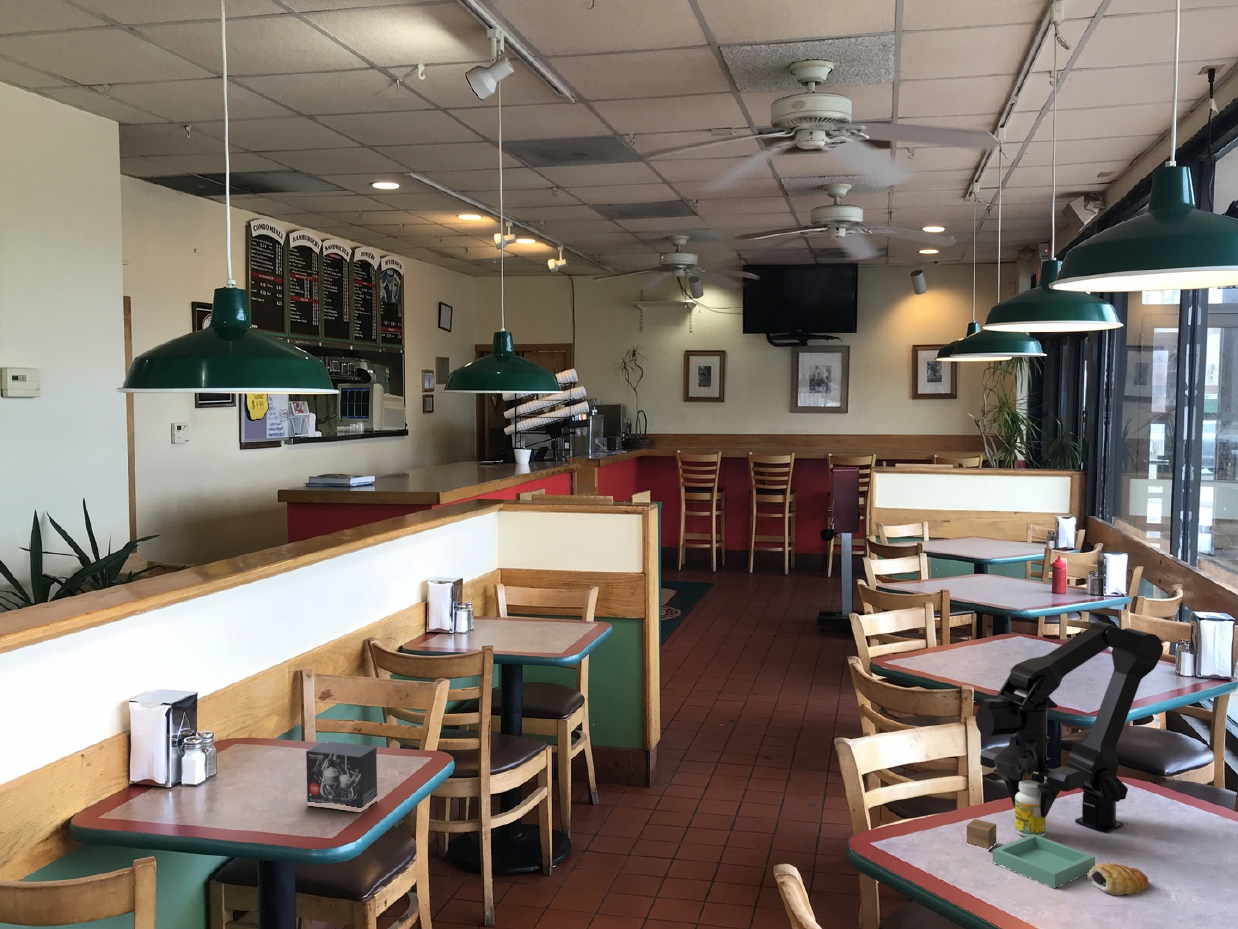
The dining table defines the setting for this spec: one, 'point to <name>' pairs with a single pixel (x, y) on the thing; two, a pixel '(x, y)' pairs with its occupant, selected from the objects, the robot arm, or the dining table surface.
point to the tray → (1044, 860)
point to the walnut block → (981, 833)
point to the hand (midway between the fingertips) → (1030, 812)
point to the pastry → (1117, 879)
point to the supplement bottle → (1029, 810)
